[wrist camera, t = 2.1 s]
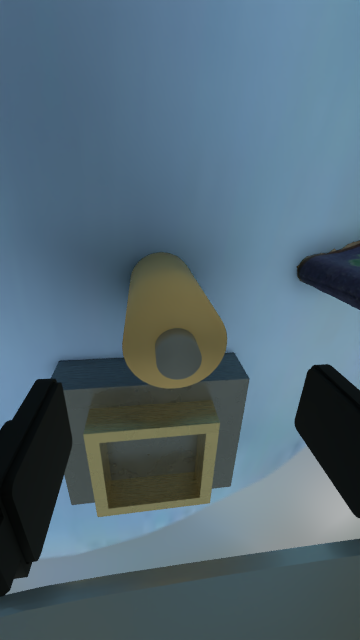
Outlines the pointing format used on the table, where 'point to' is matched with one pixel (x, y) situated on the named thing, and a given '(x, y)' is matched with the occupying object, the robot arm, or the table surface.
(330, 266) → the wallet
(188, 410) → the grey square socket base
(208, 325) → the cylinder
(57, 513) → the table surface
